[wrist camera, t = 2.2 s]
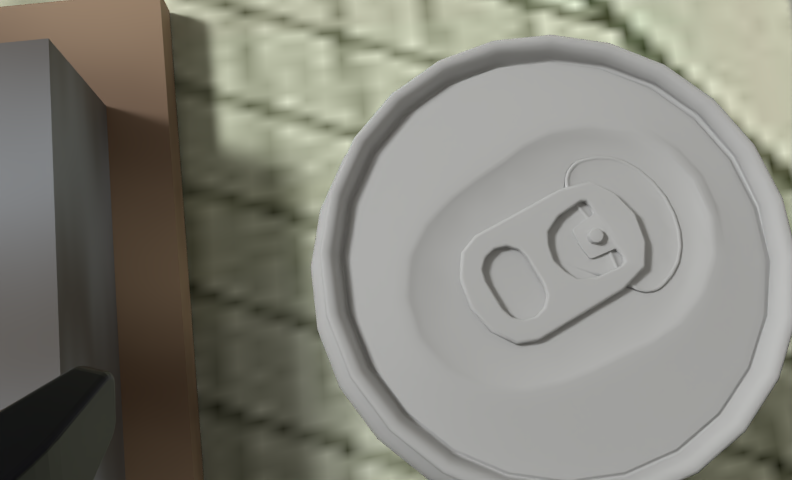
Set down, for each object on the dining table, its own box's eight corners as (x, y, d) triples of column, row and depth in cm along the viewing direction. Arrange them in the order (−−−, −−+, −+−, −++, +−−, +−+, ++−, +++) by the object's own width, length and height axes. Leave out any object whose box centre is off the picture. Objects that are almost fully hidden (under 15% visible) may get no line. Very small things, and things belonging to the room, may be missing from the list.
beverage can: (573, 388, 19) (917, 350, 7) (404, 491, 18) (475, 639, 6) (473, 223, 20) (632, -55, 8) (308, 315, 19) (213, 159, 7)
